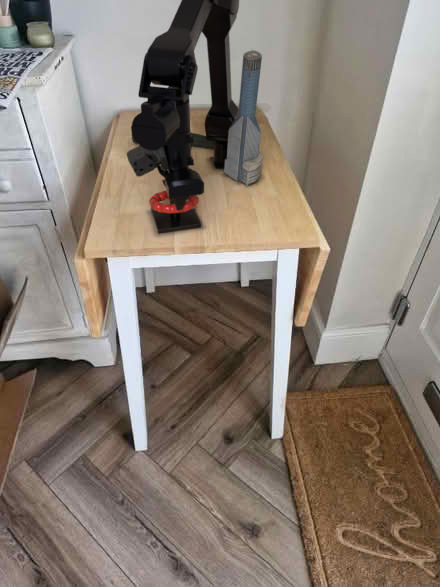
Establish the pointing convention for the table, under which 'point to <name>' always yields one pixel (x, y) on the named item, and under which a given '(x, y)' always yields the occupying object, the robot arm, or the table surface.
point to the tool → (196, 141)
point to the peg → (175, 220)
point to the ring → (171, 208)
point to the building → (246, 127)
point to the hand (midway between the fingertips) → (178, 207)
